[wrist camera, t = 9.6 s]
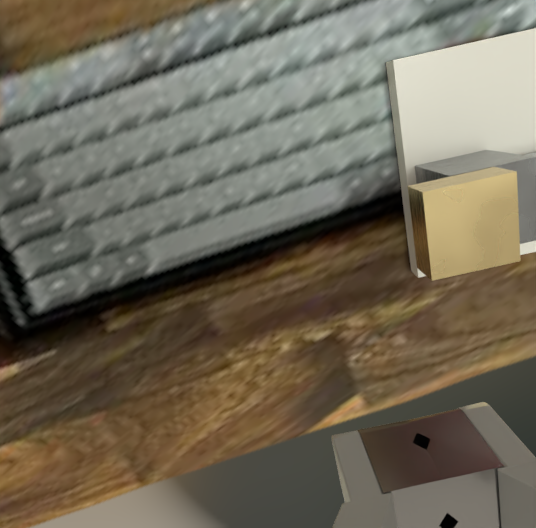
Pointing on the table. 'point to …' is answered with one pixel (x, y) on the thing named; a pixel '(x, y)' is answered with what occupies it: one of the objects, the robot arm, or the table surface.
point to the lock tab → (465, 222)
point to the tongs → (528, 167)
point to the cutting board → (463, 107)
